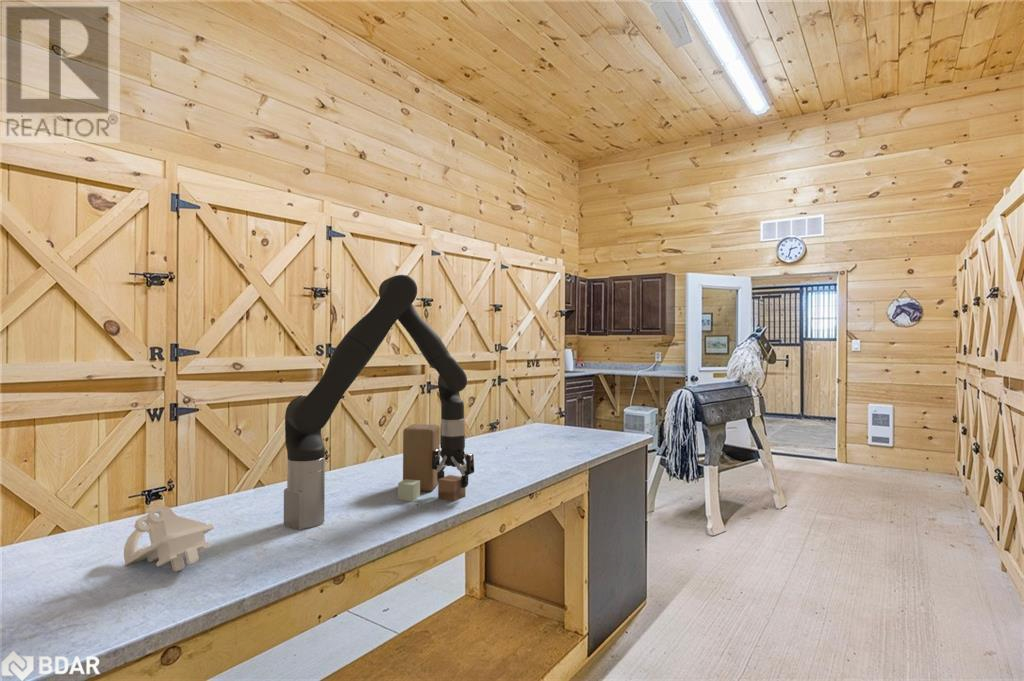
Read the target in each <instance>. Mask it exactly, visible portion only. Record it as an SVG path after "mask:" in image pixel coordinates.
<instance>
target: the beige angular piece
mask: <svg viewBox="0 0 1024 681" xmlns="http://www.w3.org/2000/svg"><path fill="white" fill-rule="evenodd" d="M157 514H158V515H157ZM143 522H144V523H143ZM134 529H135V530H133V532H131V533H130V535H129V536H128V537H127V539H126V542H125V544H124V547H123V559H124V564H125V566H129V565H132V564H134V563H138V562H141V561H145V560H147V563H151V562H155V561H157V560H158V561H157V562H156V564H155V565H156V567H161V566H163V565H165V564H167V563H169V562H170V565H171V568H172V571H174V572H176V573H177V572H178V571H182V570H184V569H185V567H186V566H185V561H184V557H185V560H186V564H188V565H191V564H195V563H197V562H199V559H200V557H199V553H201V552H203V551H205V550H206V549H208V548H210V547H211V545H210V542H208V541H207V542H206V538H205V534H207V533H209V532H211V531H212V530H214V529H215V526H214V525H213V524H207V523H206V522H202V521H199V520H196V519H191V518H186V517H182V516H179V515H177V514H176V513H174V511H173V510H172V508H170V507H169V506H167V505H160V506H155V507H154V508H152V509H151V510H149V511H148V512H147V514H145V515H142V516H141V517H139V518H138V519H137V520H136V521H135V523H134ZM144 533H148V535H149V541H150V544H149V546H145V547H143V548H142V547H141V548H139V549H138V544H139V540H140V538H141V536H142V535H143V534H144Z"/></svg>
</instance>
